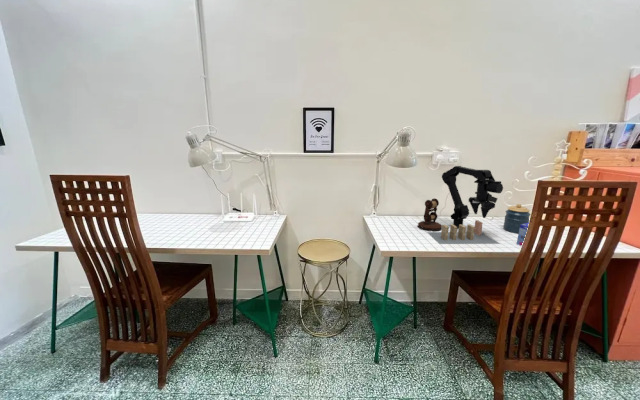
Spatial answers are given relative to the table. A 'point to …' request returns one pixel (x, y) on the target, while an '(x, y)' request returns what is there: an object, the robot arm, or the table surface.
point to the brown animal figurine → (430, 216)
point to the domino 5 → (478, 227)
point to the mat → (476, 240)
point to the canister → (515, 218)
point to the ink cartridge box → (522, 233)
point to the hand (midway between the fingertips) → (479, 215)
